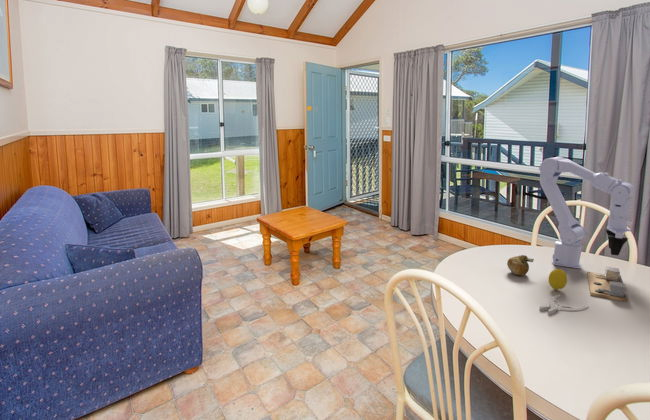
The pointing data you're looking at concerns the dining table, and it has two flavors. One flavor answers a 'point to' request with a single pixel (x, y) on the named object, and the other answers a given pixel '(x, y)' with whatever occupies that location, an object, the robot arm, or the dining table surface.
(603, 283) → the gauge board
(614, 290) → the fixed leg
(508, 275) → the dining table surface
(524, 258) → the onion
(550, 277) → the lemon
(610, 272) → the sliding leg
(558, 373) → the dining table surface
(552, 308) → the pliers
